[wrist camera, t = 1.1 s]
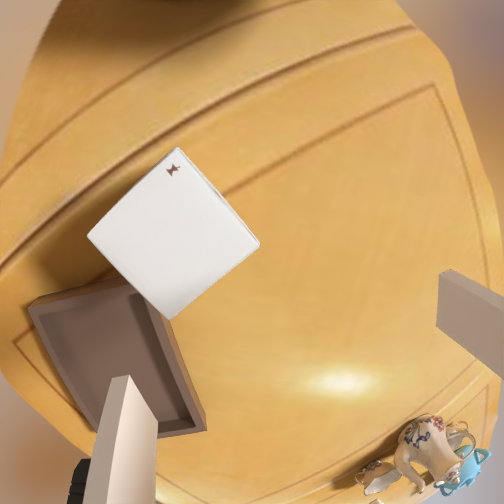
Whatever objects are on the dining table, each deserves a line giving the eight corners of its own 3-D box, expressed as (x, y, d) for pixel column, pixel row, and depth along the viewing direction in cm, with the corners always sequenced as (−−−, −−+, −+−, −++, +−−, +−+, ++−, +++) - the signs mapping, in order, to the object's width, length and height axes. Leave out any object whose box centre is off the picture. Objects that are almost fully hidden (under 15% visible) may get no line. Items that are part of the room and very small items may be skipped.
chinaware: (347, 480, 49) (377, 538, 34) (348, 447, 43) (389, 521, 28) (452, 422, 52) (489, 467, 37) (470, 378, 46) (518, 428, 31)
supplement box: (125, 205, 27) (80, 233, 15) (185, 153, 27) (179, 140, 15) (176, 263, 30) (167, 325, 18) (235, 213, 29) (265, 245, 17)
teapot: (476, 429, 56) (499, 452, 45) (467, 456, 61) (485, 477, 50) (433, 462, 54) (454, 489, 44) (428, 484, 60) (445, 508, 49)
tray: (38, 296, 28) (27, 308, 25) (152, 268, 29) (149, 279, 26) (107, 428, 33) (104, 443, 31) (205, 414, 35) (207, 430, 32)
